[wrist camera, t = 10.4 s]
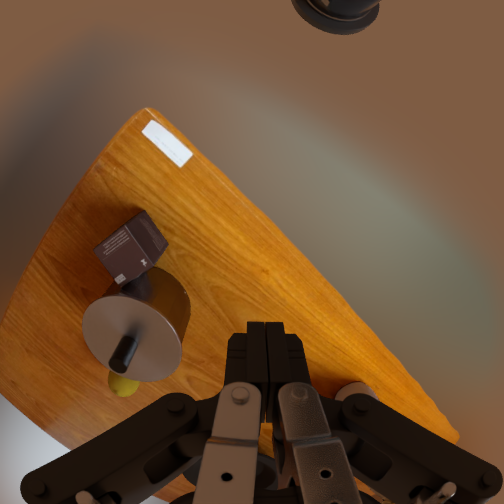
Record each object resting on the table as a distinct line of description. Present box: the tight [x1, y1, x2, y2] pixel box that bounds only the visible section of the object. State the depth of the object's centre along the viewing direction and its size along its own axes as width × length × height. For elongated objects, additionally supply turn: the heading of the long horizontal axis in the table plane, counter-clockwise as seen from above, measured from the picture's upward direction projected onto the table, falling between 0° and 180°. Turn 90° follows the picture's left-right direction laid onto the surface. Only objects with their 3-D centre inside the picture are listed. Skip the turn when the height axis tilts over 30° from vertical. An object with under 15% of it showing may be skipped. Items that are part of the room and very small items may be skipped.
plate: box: [183, 452, 278, 490], centre depth 58 cm, size 28×24×6 cm
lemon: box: [108, 370, 140, 397], centre depth 45 cm, size 6×6×8 cm
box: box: [93, 210, 169, 287], centre depth 37 cm, size 6×6×7 cm
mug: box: [335, 382, 379, 401], centre depth 48 cm, size 13×9×10 cm
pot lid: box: [82, 294, 182, 382], centre depth 33 cm, size 14×14×6 cm
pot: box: [102, 267, 191, 344], centre depth 40 cm, size 13×13×10 cm
